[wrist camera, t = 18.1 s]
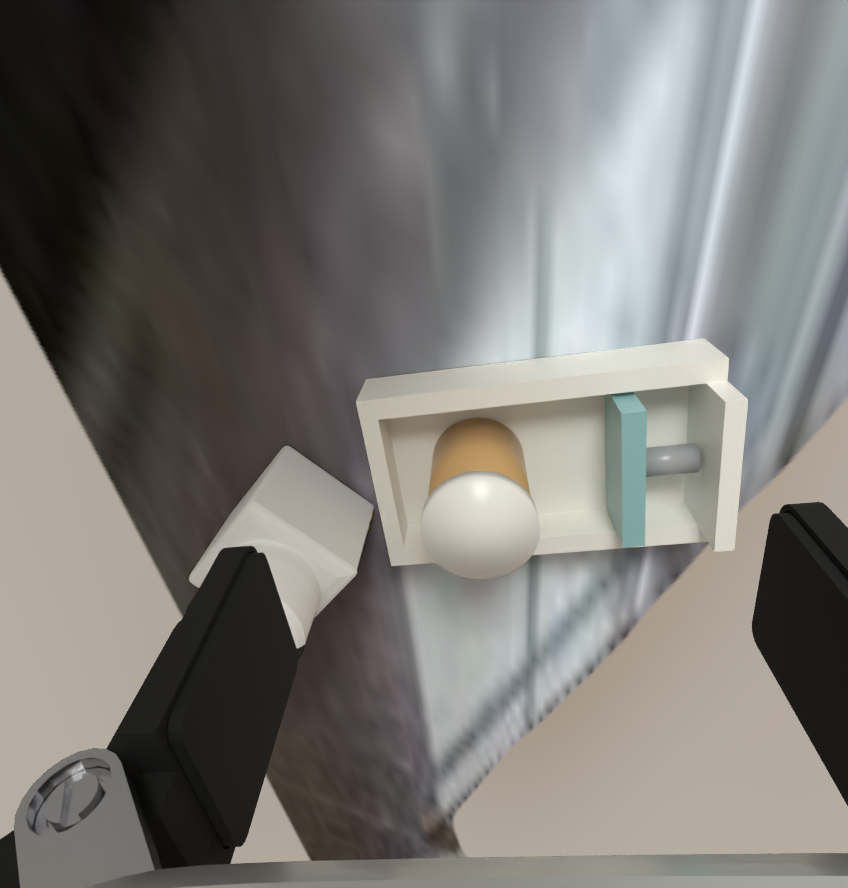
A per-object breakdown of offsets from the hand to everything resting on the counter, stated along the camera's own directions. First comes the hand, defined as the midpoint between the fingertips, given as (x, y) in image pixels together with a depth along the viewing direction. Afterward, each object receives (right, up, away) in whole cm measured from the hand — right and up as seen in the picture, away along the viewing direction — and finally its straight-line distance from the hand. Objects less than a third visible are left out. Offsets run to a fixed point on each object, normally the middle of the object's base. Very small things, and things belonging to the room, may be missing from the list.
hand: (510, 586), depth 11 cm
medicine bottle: (-10, -2, +28) cm, 30 cm away
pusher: (+11, +3, +23) cm, 25 cm away
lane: (+5, +3, +25) cm, 25 cm away
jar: (+2, +2, +24) cm, 24 cm away
